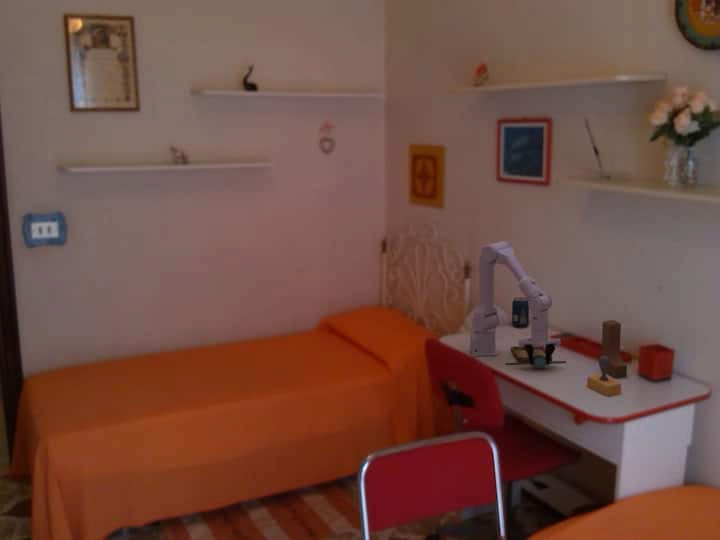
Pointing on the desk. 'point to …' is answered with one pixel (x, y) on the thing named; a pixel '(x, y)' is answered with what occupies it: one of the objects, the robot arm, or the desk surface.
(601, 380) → the rubber stamp
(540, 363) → the ball
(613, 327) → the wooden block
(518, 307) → the soda can
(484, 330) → the robot arm
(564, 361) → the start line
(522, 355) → the tray
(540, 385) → the desk surface
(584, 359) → the desk surface
